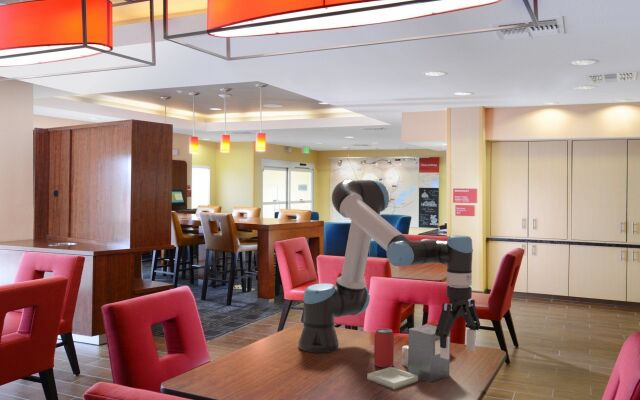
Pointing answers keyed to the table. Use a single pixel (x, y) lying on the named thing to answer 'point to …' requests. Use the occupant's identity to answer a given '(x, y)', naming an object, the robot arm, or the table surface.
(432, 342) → the box
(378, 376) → the tray
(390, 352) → the beer can
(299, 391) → the table surface
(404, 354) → the white egg
